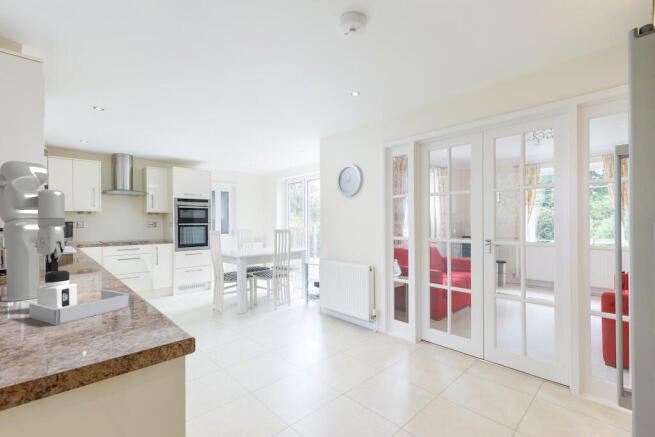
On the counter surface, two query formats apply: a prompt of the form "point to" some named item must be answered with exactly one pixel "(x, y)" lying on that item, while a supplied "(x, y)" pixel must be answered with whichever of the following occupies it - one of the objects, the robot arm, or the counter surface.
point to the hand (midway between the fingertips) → (51, 272)
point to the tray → (80, 308)
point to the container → (57, 291)
